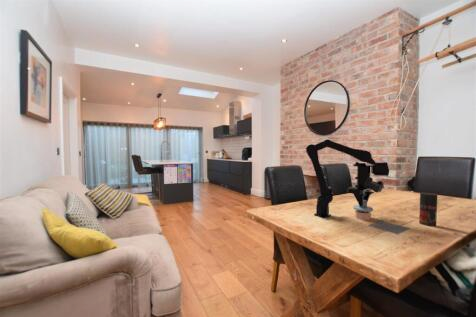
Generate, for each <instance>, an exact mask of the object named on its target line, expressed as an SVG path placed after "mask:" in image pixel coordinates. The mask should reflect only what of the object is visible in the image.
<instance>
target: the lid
mask: <svg viewBox="0 0 476 317" xmlns="http://www.w3.org/2000/svg"><path fill="white" fill-rule="evenodd" d="M353 209H354V211H355V210H358V211H364V212H371V213H372V212H373V211H374V208H373V207H371V206H368V202H367V200H363V205H362V206H359V204H355V205H353Z"/></svg>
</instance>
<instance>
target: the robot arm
mask: <svg viewBox="0 0 476 317" xmlns="http://www.w3.org/2000/svg"><path fill="white" fill-rule="evenodd" d="M325 148H329V149H332V150H335V151H338V152H341V153H343V154H346V155H348V156H350V157H352V158H353V159H356V160H358V161H359V162H358V161H355V163H353V164H352V166H353V167H356V170H357V172H356V176H355V178H354V179H355V180H356V184H355V185H354V186H349V187H348V188H347V191H346V192H347V193H348V194H352V195H353V196H354V197H355V199H356V201H357V203H358V204H357V205H359V206H362V205H363V200H367V203H368V201H369V199H370V196H371V195H373V194H375V193H379V192H380V193H381V192H382V190H383V189H385V185H384V182H383V181H381V180H378V181H374V179H373V177H371V174H373V176H374V177H375V176H378V177H388V176H389V175H390V174H389V173H390V169H389V165H388V164H389V163H388V162H387V161H383V162H379V161H378V162H377V161H375V160H374V159H373V156H372V153H371V152H370V151H369V150H364V149H359V148H352V147H350V146H347V145H344V144H342V143H338V142H335V141H332V140H330V139H324V140H323V141H320V142H318V143H316V144H308V145H307V146H306V148H305V151H306V153H307V156H308V157H309V158H308V159H310V161H311V163H312V167H313V169H314V172H315V176H316V179H317V182H318V185H319V192H320V195H319V196H318V197H317V198H316V205H315V206H316V211H315V213H313V216H317V217H319V218H324V219H325V218H329V217H332V214H330V203H332V202H333V199H334V196H335V195H334V193H333V189H332V187H331V186H330V185H329V186H328V184H327V181H326V178H325V176H324V173H323V169H322V166H321V163H320V158H319V153H318V152H319V151H321V150H324V149H325Z"/></svg>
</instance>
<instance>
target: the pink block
mask: <svg viewBox="0 0 476 317" xmlns="http://www.w3.org/2000/svg"><path fill="white" fill-rule="evenodd" d="M354 217H355V219H358V220H362V221H370V220H372V211H371V212H364V211H358V210H355V209H354Z"/></svg>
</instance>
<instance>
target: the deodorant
mask: <svg viewBox="0 0 476 317" xmlns="http://www.w3.org/2000/svg"><path fill="white" fill-rule="evenodd" d="M437 213H438V194H437V193H434V192H433V193H432V192H420V193H419V217H418V218H419V219H418V222H419V224H420V225H422V226H427V227H437V218H438V217H437Z"/></svg>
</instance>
